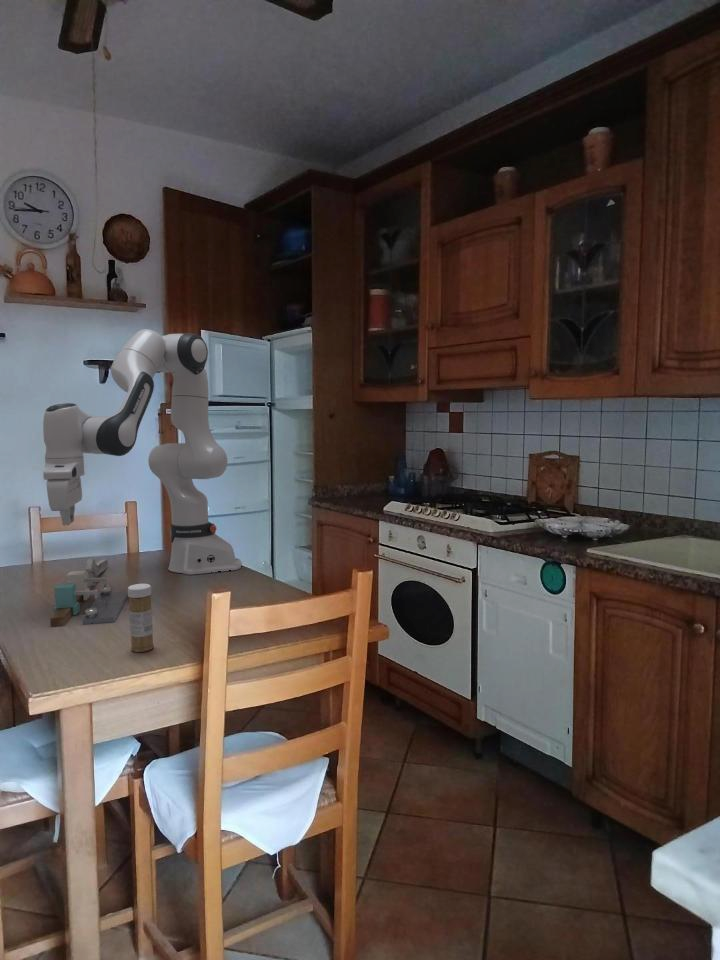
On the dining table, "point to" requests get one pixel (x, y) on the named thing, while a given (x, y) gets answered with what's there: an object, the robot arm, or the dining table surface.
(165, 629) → the dining table surface
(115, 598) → the bolt plate
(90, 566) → the wrench
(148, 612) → the sprinkles bottle
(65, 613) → the rail
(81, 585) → the fixed leg
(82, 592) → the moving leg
